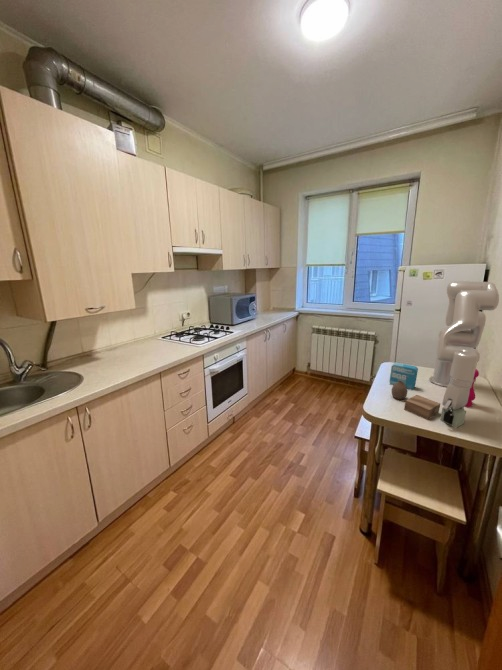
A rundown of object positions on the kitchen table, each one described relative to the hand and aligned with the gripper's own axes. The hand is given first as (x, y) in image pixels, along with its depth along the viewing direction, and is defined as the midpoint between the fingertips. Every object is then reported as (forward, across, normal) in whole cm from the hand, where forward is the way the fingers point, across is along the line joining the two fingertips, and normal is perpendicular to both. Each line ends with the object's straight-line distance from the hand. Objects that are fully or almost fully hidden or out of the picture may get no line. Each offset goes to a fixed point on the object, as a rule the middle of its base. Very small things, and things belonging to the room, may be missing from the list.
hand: (452, 420), depth 111 cm
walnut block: (+1, +3, -11) cm, 12 cm away
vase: (+1, 0, -24) cm, 24 cm away
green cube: (+1, 0, 0) cm, 1 cm away
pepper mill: (+1, -22, -6) cm, 23 cm away
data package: (+1, -14, -32) cm, 35 cm away
